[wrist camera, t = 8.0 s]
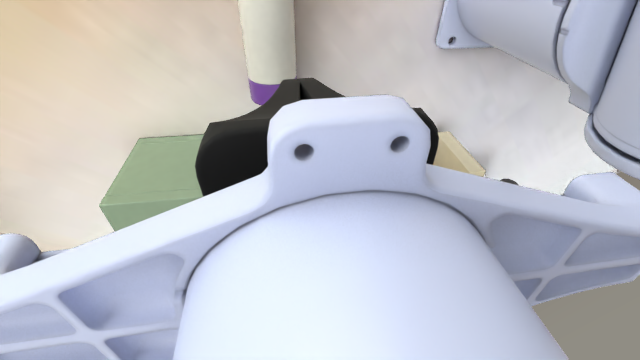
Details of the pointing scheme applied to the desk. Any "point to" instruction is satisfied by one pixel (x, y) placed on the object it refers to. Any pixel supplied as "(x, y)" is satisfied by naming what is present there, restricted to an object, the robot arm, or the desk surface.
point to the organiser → (153, 180)
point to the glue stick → (268, 45)
